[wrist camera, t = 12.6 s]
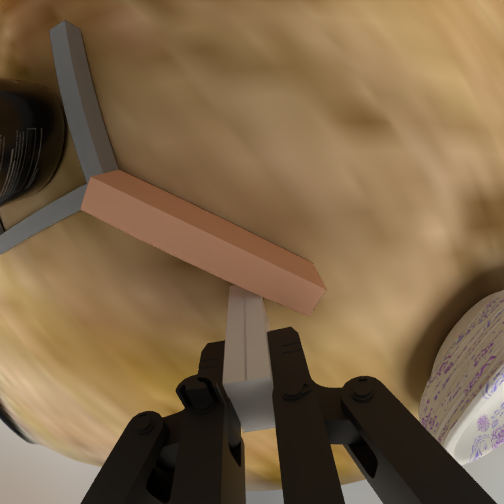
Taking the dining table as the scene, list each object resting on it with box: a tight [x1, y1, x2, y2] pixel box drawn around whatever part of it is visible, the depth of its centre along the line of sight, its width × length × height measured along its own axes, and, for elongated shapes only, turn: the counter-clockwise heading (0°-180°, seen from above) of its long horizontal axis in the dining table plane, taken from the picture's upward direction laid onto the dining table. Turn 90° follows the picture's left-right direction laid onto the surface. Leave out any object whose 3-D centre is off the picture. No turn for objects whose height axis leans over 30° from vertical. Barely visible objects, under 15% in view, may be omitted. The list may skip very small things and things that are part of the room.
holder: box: [0, 20, 327, 317], centre depth 12 cm, size 19×18×3 cm
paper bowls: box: [418, 290, 504, 465], centre depth 15 cm, size 15×15×8 cm
